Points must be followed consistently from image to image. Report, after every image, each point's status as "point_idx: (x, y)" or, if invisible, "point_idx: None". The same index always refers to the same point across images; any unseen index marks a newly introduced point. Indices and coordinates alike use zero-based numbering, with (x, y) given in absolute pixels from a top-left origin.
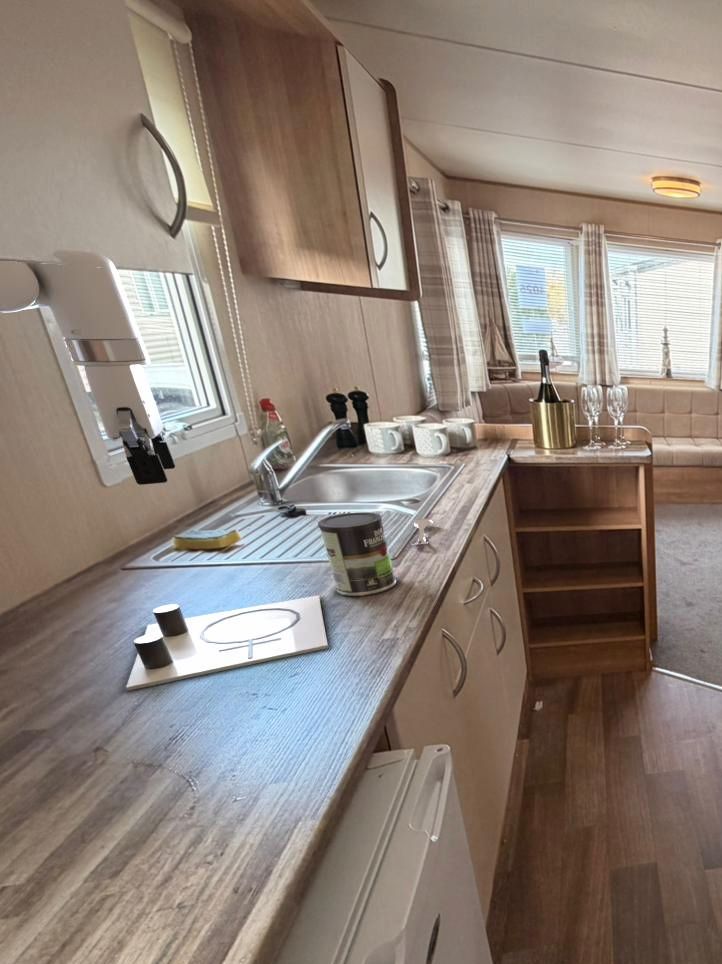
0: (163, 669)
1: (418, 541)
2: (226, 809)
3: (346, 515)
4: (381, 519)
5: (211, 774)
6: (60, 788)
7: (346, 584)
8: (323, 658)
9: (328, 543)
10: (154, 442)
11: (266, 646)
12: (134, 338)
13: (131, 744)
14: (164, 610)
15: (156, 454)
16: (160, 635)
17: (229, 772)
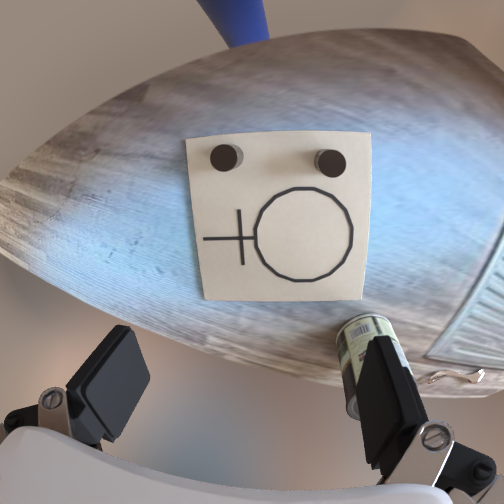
0: None
1: (445, 374)
2: (35, 236)
3: None
4: None
5: (56, 225)
6: (66, 148)
7: (348, 332)
8: (184, 292)
9: None
10: (384, 456)
11: (228, 252)
12: None
13: (95, 171)
14: (324, 162)
15: (104, 438)
16: (226, 169)
17: (55, 234)
